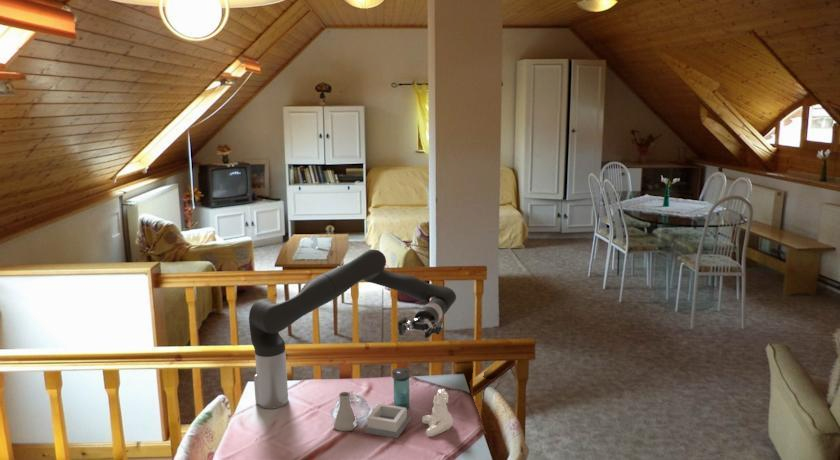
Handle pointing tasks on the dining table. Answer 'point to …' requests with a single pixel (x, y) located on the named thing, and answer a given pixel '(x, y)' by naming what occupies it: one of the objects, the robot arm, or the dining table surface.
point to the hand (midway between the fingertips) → (413, 333)
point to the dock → (387, 421)
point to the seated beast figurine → (438, 415)
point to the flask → (344, 414)
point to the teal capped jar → (401, 387)
